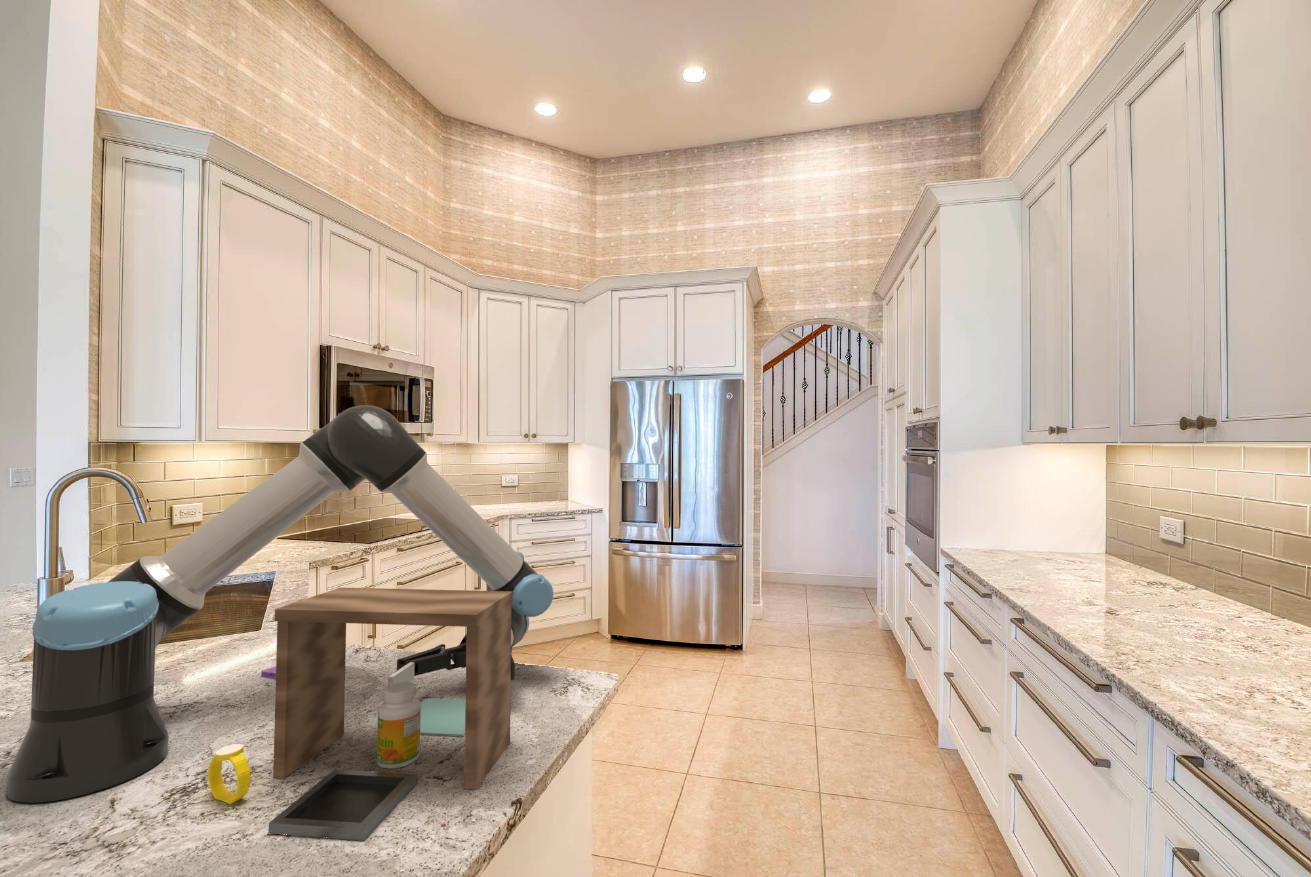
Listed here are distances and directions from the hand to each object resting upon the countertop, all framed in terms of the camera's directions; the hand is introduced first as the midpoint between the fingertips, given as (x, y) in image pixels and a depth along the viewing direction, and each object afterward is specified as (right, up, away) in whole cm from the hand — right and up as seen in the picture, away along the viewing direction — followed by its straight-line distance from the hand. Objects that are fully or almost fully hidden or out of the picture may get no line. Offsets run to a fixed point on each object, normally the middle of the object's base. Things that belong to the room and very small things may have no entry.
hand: (432, 687), depth 88 cm
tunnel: (-1, -6, -9) cm, 11 cm away
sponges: (-34, -8, +22) cm, 41 cm away
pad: (0, -6, +4) cm, 7 cm away
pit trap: (-2, -5, -20) cm, 21 cm away
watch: (-17, -6, -18) cm, 26 cm away
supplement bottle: (-1, -6, -9) cm, 11 cm away
